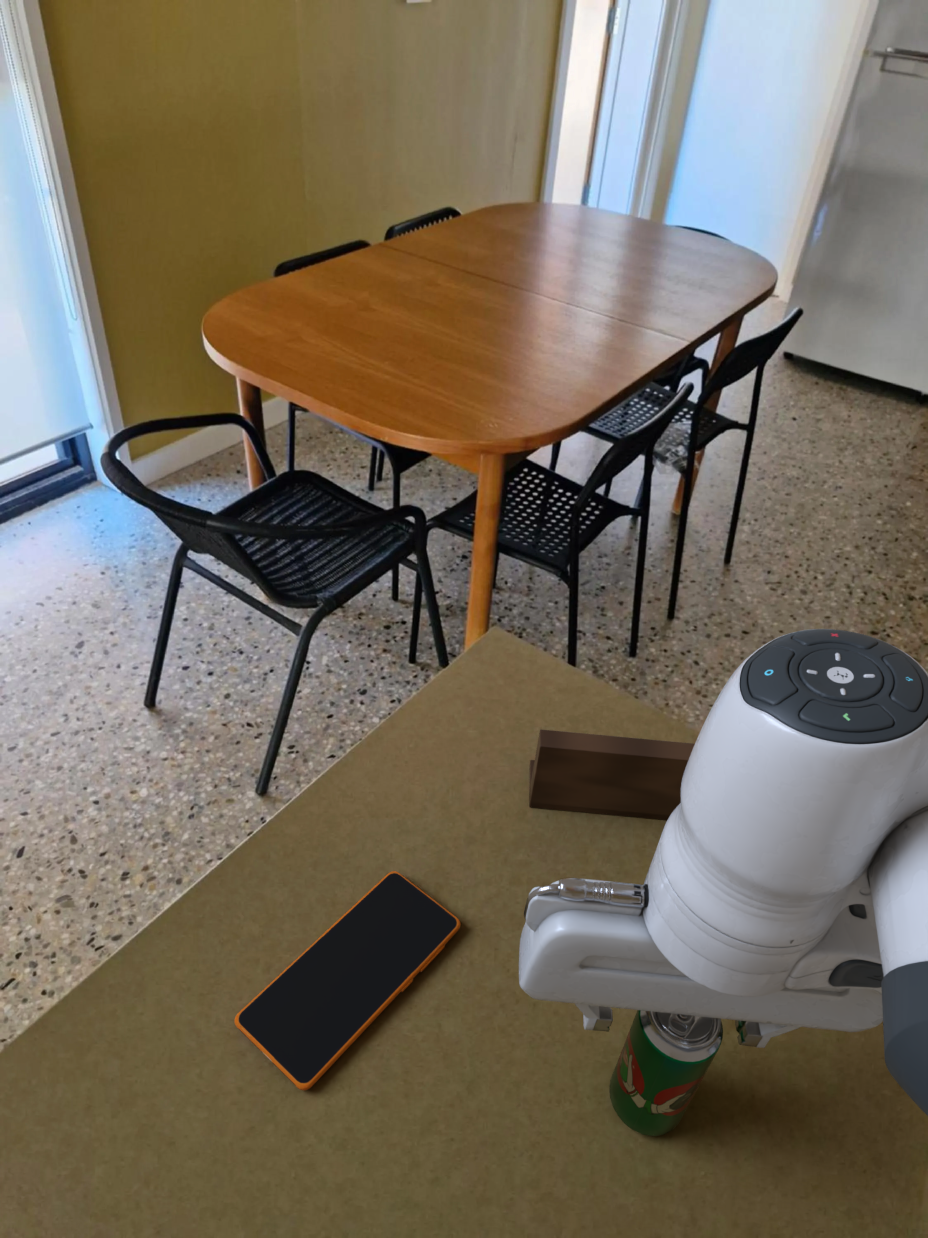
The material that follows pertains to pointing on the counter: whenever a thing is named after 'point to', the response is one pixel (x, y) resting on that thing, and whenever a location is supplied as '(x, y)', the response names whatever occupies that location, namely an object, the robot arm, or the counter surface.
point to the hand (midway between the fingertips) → (671, 1027)
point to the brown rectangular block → (607, 774)
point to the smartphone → (346, 979)
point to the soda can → (662, 1068)
